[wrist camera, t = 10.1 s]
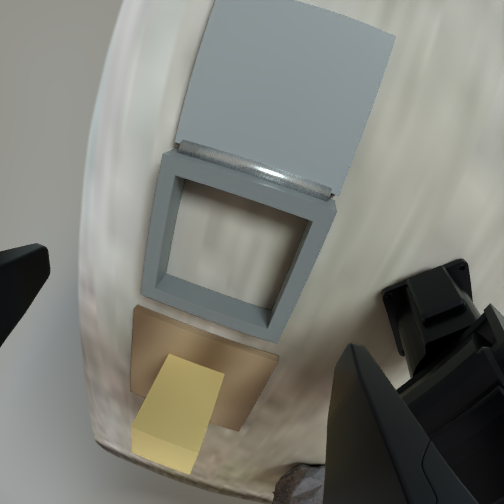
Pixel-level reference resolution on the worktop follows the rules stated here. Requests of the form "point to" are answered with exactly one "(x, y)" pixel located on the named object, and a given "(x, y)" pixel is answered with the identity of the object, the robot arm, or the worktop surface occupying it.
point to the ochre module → (176, 414)
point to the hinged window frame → (267, 137)
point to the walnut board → (200, 363)
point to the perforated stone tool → (301, 486)
